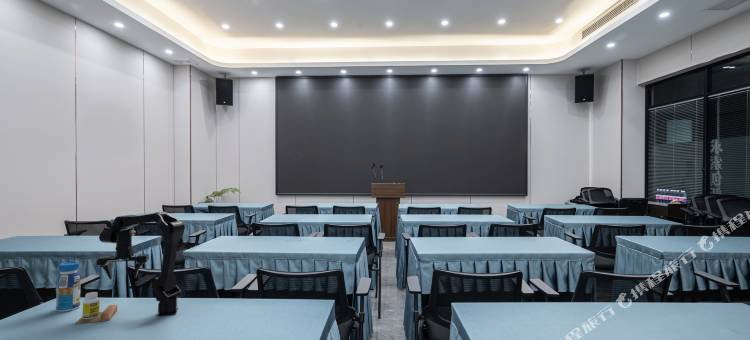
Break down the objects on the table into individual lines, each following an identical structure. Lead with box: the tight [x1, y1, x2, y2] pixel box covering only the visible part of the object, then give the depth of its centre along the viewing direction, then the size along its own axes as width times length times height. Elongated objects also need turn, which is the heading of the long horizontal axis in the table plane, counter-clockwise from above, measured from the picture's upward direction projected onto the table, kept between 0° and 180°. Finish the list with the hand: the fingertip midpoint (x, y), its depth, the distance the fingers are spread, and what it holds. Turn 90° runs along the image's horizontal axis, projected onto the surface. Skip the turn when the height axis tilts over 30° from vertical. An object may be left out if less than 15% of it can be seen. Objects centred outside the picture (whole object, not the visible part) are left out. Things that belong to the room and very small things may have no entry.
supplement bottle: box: [82, 291, 101, 319], centre depth 149 cm, size 5×5×10 cm
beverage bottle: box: [55, 261, 82, 313], centre depth 159 cm, size 8×8×20 cm
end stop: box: [74, 304, 118, 325], centre depth 150 cm, size 12×10×3 cm
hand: (123, 278), depth 161 cm, fingers open, 9 cm apart
